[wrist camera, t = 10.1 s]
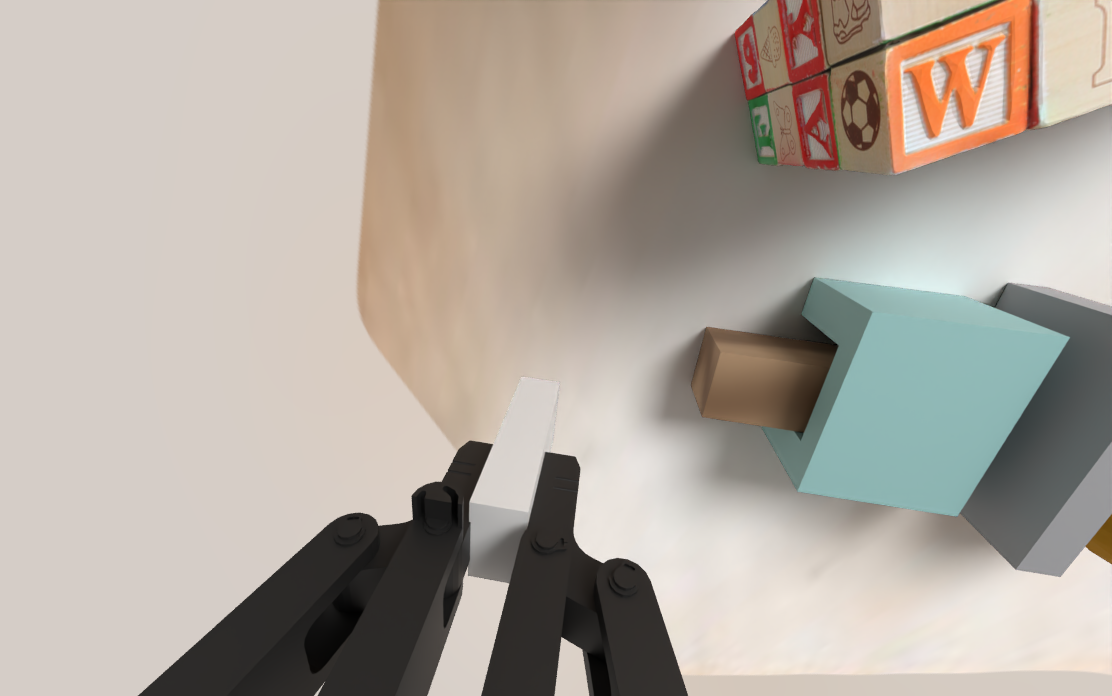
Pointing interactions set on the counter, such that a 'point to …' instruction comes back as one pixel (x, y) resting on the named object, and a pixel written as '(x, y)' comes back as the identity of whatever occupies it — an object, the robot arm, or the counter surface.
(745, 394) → the brown wooden bar
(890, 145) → the stack of blocks
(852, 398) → the block
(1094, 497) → the wall
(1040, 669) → the counter surface
